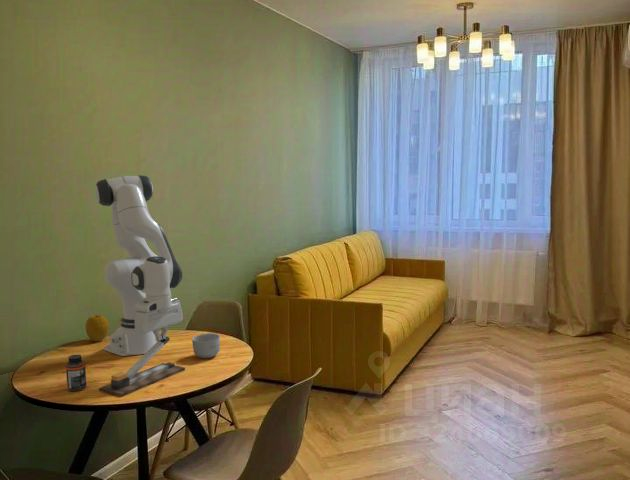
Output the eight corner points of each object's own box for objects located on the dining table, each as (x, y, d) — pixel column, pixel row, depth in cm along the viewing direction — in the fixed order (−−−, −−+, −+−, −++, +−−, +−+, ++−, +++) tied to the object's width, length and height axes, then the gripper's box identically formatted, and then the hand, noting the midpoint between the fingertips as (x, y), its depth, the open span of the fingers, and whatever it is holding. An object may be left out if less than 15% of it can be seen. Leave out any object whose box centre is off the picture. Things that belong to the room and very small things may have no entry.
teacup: (214, 361, 212) (213, 340, 211) (188, 359, 214) (187, 339, 214) (227, 350, 226) (226, 331, 225) (202, 349, 228) (201, 330, 227)
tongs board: (121, 396, 177) (121, 385, 177) (99, 391, 183) (98, 379, 182) (184, 369, 202) (184, 359, 202) (163, 365, 208) (162, 355, 207)
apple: (113, 337, 248) (112, 312, 247) (103, 343, 238) (101, 317, 237) (93, 337, 249) (91, 311, 248) (81, 343, 239) (80, 317, 238)
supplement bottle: (71, 385, 188) (69, 353, 187) (89, 385, 188) (87, 352, 187) (64, 392, 182) (62, 359, 181) (83, 391, 183) (81, 358, 181)
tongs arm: (130, 379, 185) (128, 376, 185) (124, 378, 187) (122, 375, 186) (169, 339, 201) (168, 337, 200) (164, 338, 202) (163, 336, 202)
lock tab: (117, 381, 181) (117, 376, 181) (111, 379, 182) (111, 375, 182) (127, 377, 184) (126, 373, 184) (121, 376, 186) (121, 371, 185)
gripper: (173, 296, 208) (175, 332, 209) (130, 306, 190) (132, 346, 191) (185, 297, 205) (187, 333, 206) (143, 308, 187) (145, 348, 188)
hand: (160, 339), depth 198 cm, fingers closed
